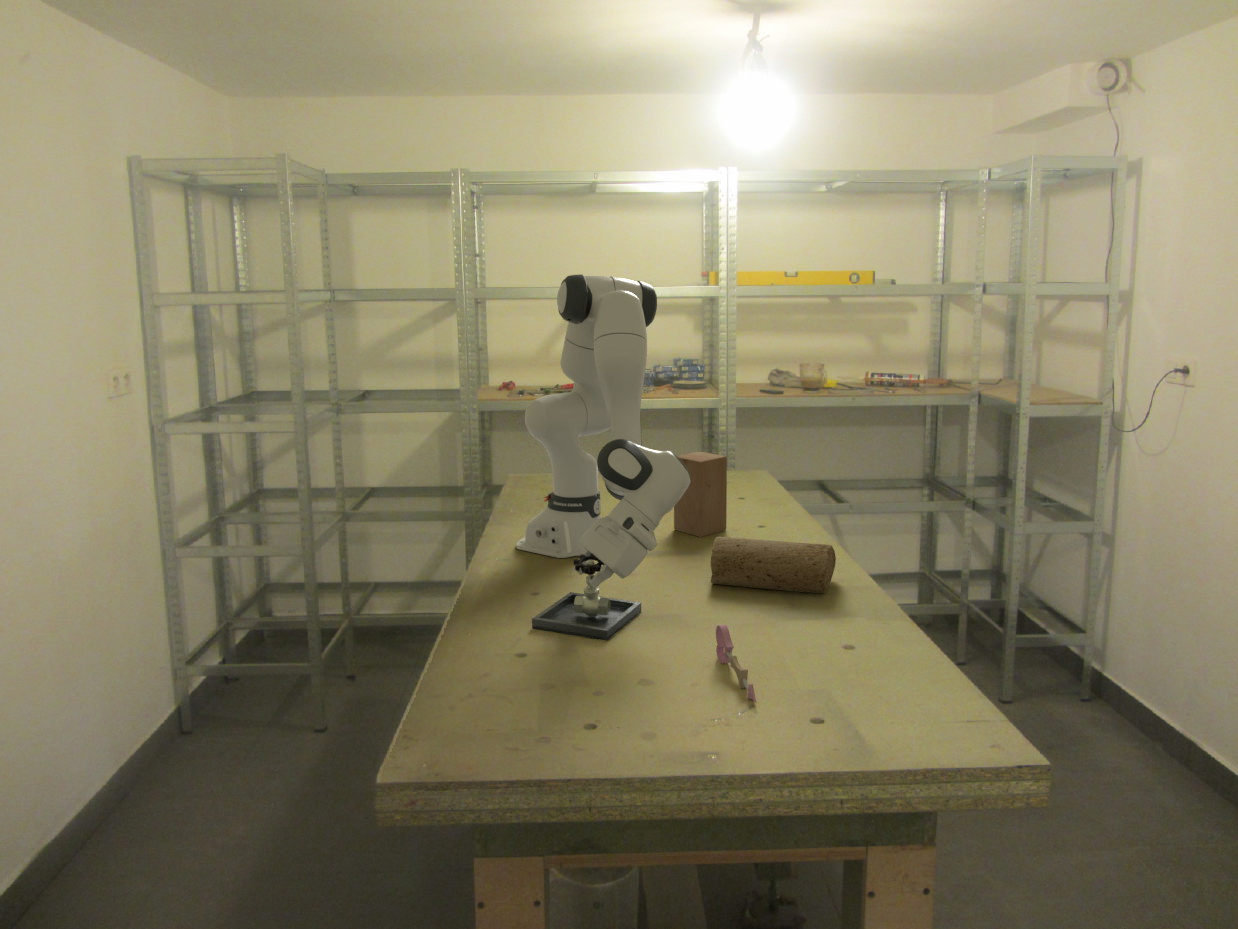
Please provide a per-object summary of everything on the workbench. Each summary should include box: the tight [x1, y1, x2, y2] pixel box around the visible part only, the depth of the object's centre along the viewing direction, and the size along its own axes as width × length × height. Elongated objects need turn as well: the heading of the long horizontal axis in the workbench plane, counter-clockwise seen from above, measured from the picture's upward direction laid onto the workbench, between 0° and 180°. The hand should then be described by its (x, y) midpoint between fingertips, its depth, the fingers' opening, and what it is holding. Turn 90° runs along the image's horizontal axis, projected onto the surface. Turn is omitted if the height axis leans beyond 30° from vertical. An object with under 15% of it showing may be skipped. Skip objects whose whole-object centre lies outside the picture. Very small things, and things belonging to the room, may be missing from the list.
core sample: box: [710, 536, 837, 594], centre depth 196 cm, size 14×26×10 cm, turn 72°
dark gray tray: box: [531, 591, 642, 642], centre depth 178 cm, size 16×16×2 cm
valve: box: [572, 553, 611, 616], centre depth 177 cm, size 7×7×12 cm
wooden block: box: [673, 451, 728, 538], centre depth 237 cm, size 10×10×20 cm
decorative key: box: [715, 624, 757, 704], centre depth 151 cm, size 7×1×20 cm
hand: (584, 578), depth 176 cm, fingers open, 7 cm apart
